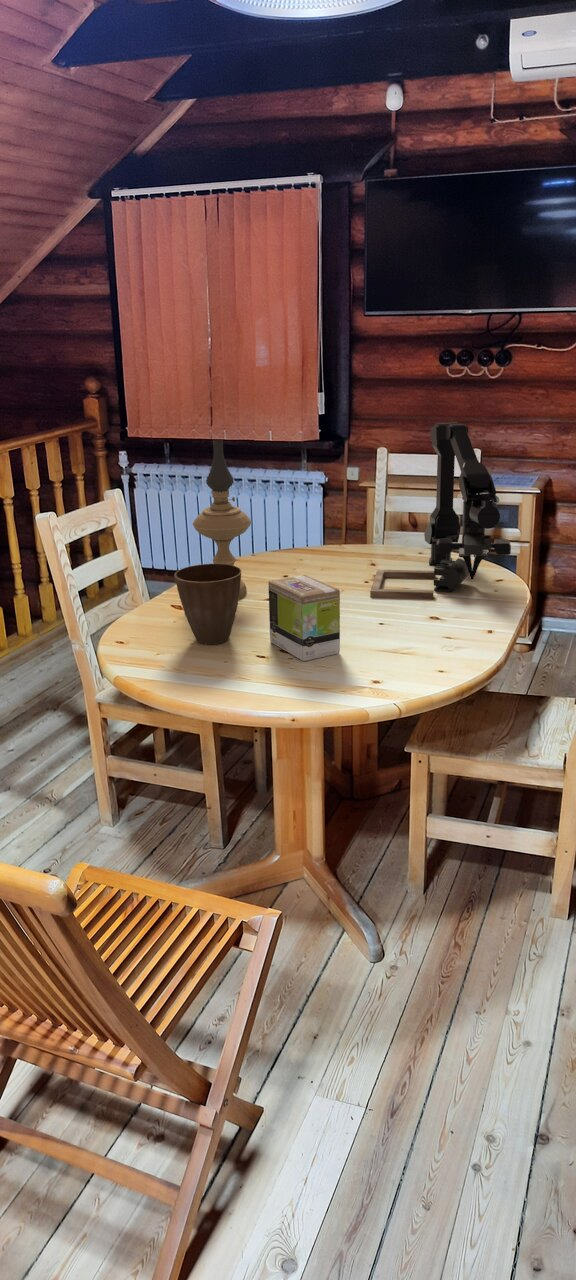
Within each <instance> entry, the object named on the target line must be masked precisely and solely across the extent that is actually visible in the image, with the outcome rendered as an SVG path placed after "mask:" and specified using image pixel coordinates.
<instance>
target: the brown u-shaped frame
mask: <svg viewBox="0 0 576 1280" xmlns="http://www.w3.org/2000/svg"><path fill="white" fill-rule="evenodd" d="M436 576H437V575H434V570H416V569H414V570H413V569H409V570H408V569H379V568H378V569H377V570H376V572H375V575H374V578H373V582H372V583H371V588H370V593H369V595H370V596H369V597H370V598H391V599H392V598H395V599H399V598H400V599H422V600H425V599H427V600H430V599H431V600H433V599H434V592H435V591H434V589H433V590H430V589H428V590H426V589H425V590H424V589H398V588H397V589H393V588H390V589H389V588H382V585H383V581H384V578H399V579H400V578H401V579H402V578H403V579H405V578H406V579H433V580H434V579H436Z"/></svg>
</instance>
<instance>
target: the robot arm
mask: <svg viewBox="0 0 576 1280" xmlns="http://www.w3.org/2000/svg"><path fill="white" fill-rule="evenodd" d="M429 434H430V441H431V446H432V447H433V449H434V451H435V453H436V455H437V459H436V461H437V465H436V467H437V468H436V470H437V471H436V496H435V497H436V501H435V503H436V504H435V505H436V506H435V508H434V510H433V511H432V513H431V514H430V516H429V523H428V524H427V527H426V528H425V531H424V534H423V535H424V541H425V542H426V543H427V544H428V545H430V557H429V559H428V560H429V561H428V565H429V566H437V565H441V566H442V564H440V562H441V561H442V560H450V561H453V557H452V552H453V551H458V558H461V559H463V560H464V561H465V563H466V565H467V568H468V571H469V573H468V575H469V578H470V580H474V579H475V576H476V573H477V571H478V568H479V566H480V563H481V562H482V560H483V559H486V558H488V551H492V552H493V551H494V552H495V553H496V555H499V556H510V555H511V550H512V549H511V548H512V545H511V541H510V540H509V539H508V538H507V539H499V538H498V539H496V538H495V539H494V542H492V535H490V534H489V535H488V534H487V535H486V530H487V529H488V530H490V529H493V528H495V527H496V526H497V525H498V523H499V521H500V519H501V514H500V511H499V509H498V508H497V507H495V506H494V505H493V504H494V502H493V501H495V500H497V496H496V495H497V491H496V490H497V489H496V486H495V483H494V479H493V477H492V475H491V474H490V471H489V470H488V468H487V466H486V465H485V464H483V463H481V462H480V461H479V460H478V457H477V454H476V451H475V448H474V446H473V443H472V441H471V438H470V436H469V428H468V425H467V424H465V423H459V422H458V421H456V422H454V421H453V422H438V423H435V424H434V426H432V427H431V428H430V431H429ZM455 460H456V461H457V463H458V466H459V469H460V470H459V471H460V475H459V477H458V488H459V491H460V493H461V496H462V497H461V499H462V500H463V503H462V505H463V506H462V526H461V524H460V517H459V515H458V514H457V513H456V511H455V509H454V494H455V493H454V488H455V482H454V481H455V463H456V462H455ZM461 528H462V529H461ZM461 530H462V532H461ZM460 533H462V535H461V542H459V539H460ZM472 555H473V556H474V557H473V558H474V559H473V564H472V557H471V556H472Z"/></svg>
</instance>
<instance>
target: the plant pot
mask: <svg viewBox="0 0 576 1280" xmlns="http://www.w3.org/2000/svg"><path fill="white" fill-rule="evenodd" d="M174 579H175V583H176V587H177V588H176V589H177V593H178V595H179V596H178V597H179V599H180V602H181V605H182V610H183V612H184V615H185V617H186V620H187V622H188V626H189V628H190V629H191V632H192V633H193V636H194V638H195V640H196V642H197V643H199V644H201V645H206V646H207V645H210V646H212V645H219V644H223V643H226V642H227V641H228V640H229V639H230V635H231V634H232V630H233V627H234V623H235V618H236V614H237V610H238V605H239V599H240V598H239V592H240V583H241V580H242V569H241V568H240V567H238V566H235V565H234V566H232V565H227V564H214V563H203V564H196V565H195V564H194V565H190V566H186V567H184V568H180V569H179V570H178V569H177V571H175V572H174Z"/></svg>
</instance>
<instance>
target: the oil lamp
mask: <svg viewBox="0 0 576 1280" xmlns="http://www.w3.org/2000/svg"><path fill="white" fill-rule="evenodd" d="M223 441H224V440H222V439H214V440H212V444H213V445H212V446H213V447H212V449H213V459H212V463H211V467H210V470H209V472H208V475H207V478H206V482H205V483H206V485H207V486H208V487H209V488H210V489H211V498H213V502H212V503H211V505H210V506H209V507H205V508H203V509H202V512H200V513H199V514H198V515H197V516H196V518H195V519H194V520H193V522H192V526H193V527H194V529H195V531H197V532H198V534H200V535H202V536H204V537H206V538H208V539H211V540H212V541H213V542H215V544H216V546H217V551H216V553H215V555H214V557H213V558H212V564H227V565H232V566H235V565H234V564H235V562H236V561H237V559H236V558H235V556H234V555H233V553H231V550H230V545H231V542H232V541H233V540H234V539H235V538H237V537H240V536H241V535H242V534H244V533H246V532H247V530H248V529H249V527H250V526H251V525H252V520H251V518H250V517H249V516H248V515H247V513H245V512H244V511H243V510H241V508H240V507H239V506H236V505H232V504H231V501H232V502H233V503H235V501H236V498H235V497H234V496H233V497H232V498H231V499H229V497H230V489H231V487H232V486H233V484H234V482H235V481H234V477H233V475H232V473H231V471H230V469H229V468H228V466H227V463H226V460H225V455H224V443H223ZM247 590H248V589H247V586H246V583H245V582H244V581H243V580H242V579H241V583H240V592H239V599H242V598H244V597H246V596H247V593H248V592H247Z"/></svg>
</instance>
